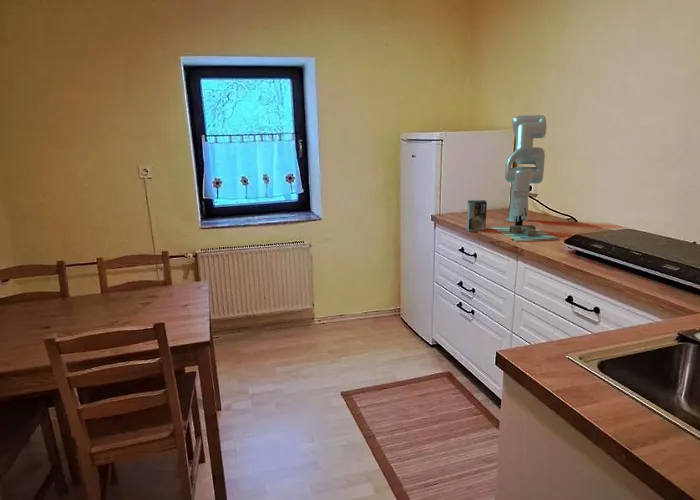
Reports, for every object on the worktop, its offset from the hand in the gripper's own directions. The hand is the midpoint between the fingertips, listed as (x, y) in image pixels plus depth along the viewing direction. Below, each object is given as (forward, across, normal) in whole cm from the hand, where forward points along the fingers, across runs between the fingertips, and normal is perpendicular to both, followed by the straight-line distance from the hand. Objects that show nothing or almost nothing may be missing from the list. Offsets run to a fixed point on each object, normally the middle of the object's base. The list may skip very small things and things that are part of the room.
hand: (518, 228), depth 237 cm
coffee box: (+2, -8, -20) cm, 22 cm away
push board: (+2, +5, 0) cm, 5 cm away
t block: (+1, +8, 0) cm, 8 cm away
